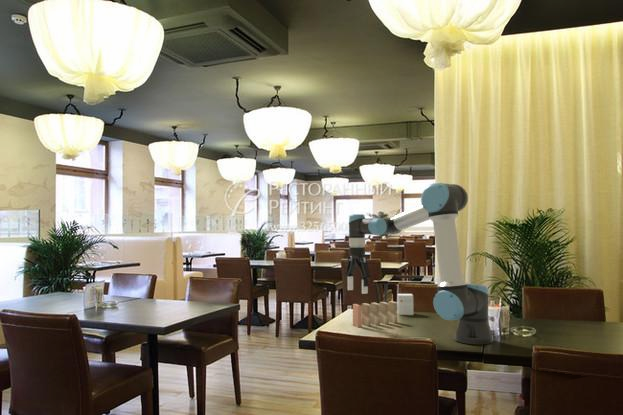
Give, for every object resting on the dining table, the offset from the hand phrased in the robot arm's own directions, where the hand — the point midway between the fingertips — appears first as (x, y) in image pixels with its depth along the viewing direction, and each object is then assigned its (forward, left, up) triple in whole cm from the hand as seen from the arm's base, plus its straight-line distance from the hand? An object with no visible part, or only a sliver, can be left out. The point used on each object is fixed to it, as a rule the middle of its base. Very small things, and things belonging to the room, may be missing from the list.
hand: (357, 291), depth 239 cm
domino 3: (0, -10, -16) cm, 19 cm away
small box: (+15, -38, -16) cm, 44 cm away
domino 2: (0, -5, -16) cm, 17 cm away
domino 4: (0, -15, -16) cm, 22 cm away
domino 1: (0, 0, -16) cm, 16 cm away
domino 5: (0, -20, -16) cm, 26 cm away
